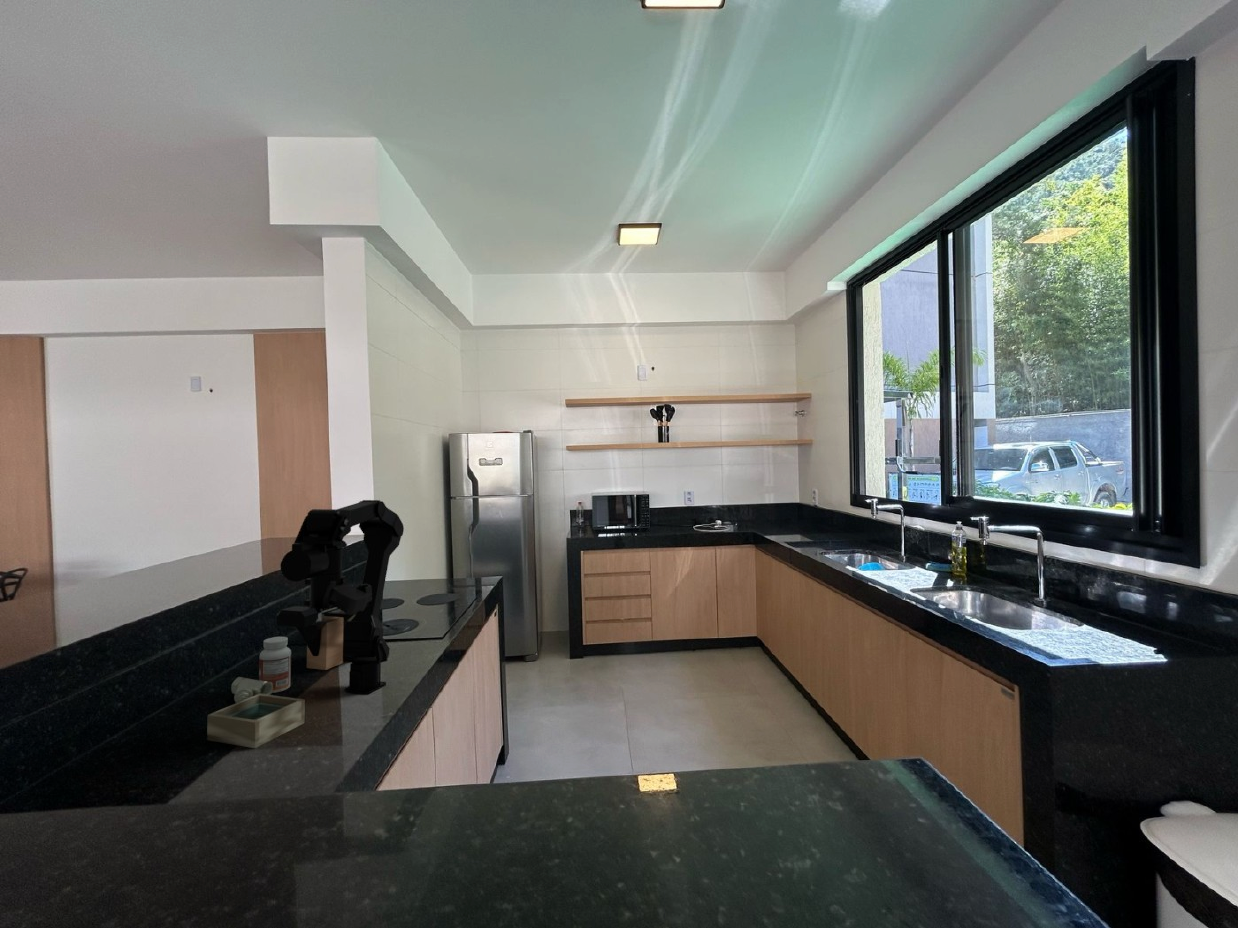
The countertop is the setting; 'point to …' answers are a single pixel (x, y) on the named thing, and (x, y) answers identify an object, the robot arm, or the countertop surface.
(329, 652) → the peg
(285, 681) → the pill bottle
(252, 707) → the socket box
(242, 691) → the pipe fitting
